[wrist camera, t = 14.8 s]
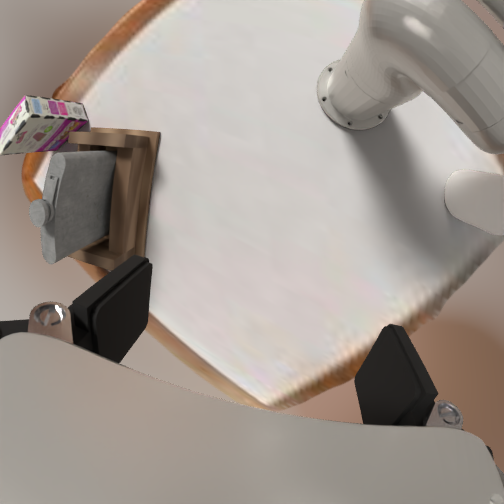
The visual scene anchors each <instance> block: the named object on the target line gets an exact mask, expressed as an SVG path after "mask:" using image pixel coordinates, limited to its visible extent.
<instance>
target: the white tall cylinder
mask: <svg viewBox="0 0 504 504" xmlns="http://www.w3.org/2000/svg"><path fill="white" fill-rule="evenodd" d="M444 198H445V203H446V206H447V208H448V210H449V212H450V213H451V214H452V215H453V216H454V217H455V218H457V219H459V220H461V221H464V222H466V223H468V224H470V225H473V226H475V227H477V228H479V229H481V230H484V231H486V232H488V233H490V234H492V235H504V176H503V175H499V174H494V173H487V172H481V171H474V170H467V169H461V170H457V171H455V172H454V173H453V174H451V176H450V177H449V178H448V180H447V183H446V185H445V191H444Z"/></svg>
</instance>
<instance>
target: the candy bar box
mask: <svg viewBox="0 0 504 504" xmlns="http://www.w3.org/2000/svg"><path fill="white" fill-rule="evenodd" d="M86 122H88V118H87V115H86V112H85V109H84V106H83V104H82V103H76V102H70V101H64V100H58V99H51V98H44V97H36V96H27V95H25V96H24V97H23V98H22V100H21V101H20V102H19V104H18V105H17V107H16V108H15V109H14V110H13V112H12V113H11V114H10V116H9V117H8V118H7V120H6V121H5V123H4V124H3V125H2V127H1V128H0V155H9V154H19V153H29V152H43V151H56V150H57V149H58V148H59V147H60V146H61V145H63V144H64V143H65V142H66V141H67V140H68V138H69V132H70V131H72V132H76V131H77V130H78V129H80V128H81V127H82V126H83V125H84V124H85V123H86Z"/></svg>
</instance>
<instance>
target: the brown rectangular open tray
mask: <svg viewBox="0 0 504 504" xmlns="http://www.w3.org/2000/svg"><path fill="white" fill-rule="evenodd" d="M159 137H160V132H152V131H142V130H129V129H113V128H91V131H90V132H72V131H70V132H69V138H68V143H75V144H78V150H77V152H79V151H117V157H116V164H115V172H114V181H113V190H112V201H111V214H110V231H109V235H107V236H105V237H103V238H101V239H99V240H97V241H95V242H93V243H91V244H89V245H87V246H85V247H83V248H81V249H79V250H78V251H76V252H74V253H72V254H70V255H68V257H71V258H74V259H77V260H80V261H83V262H86V263H89V264H92V265H95V266H98V267H101V268H104V269H107V270H111V271H112V270H114V269H115V268H116V267H118V266H119V265H120V264H122V263H123V262H125V261H126V260H127V259H129V258H130V257H131V256H133V255H138V256H142V257H144V254H145V241H146V230H147V220H148V210H149V202H150V194H151V186H152V179H153V172H154V166H155V160H156V154H157V148H158V142H159Z"/></svg>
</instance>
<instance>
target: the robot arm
mask: <svg viewBox="0 0 504 504" xmlns="http://www.w3.org/2000/svg"><path fill="white" fill-rule="evenodd" d="M477 1H478V2H479V3H480V4H481V5H482V6H483V7H484V8H485V9H486V10H487V11H488V12H489V13H490V14H491V15H492V16H493V17H494V18H495V20H496V21H497V22H498V23H499V24H500V25H501V26H502V27H503V28H504V0H477ZM328 70H330V71H331V72H329V71H328ZM422 91H424V92H425V93H426V94H427V95H428V96H430V97H431V98H432V99H433V100H434V101H435V102H436V103H437V104H438V105H439V106H440V107H441V108H442V109H443V110H444V111H445V112H446V113H447V114H448V115H449V117H450V118H451V119H452V120H453V121H454V122H455V123H456V124H457V125H458V127H459V128H460V129H461V130H462V131H463V132H464V134H465V135H466V136H467V137H468V138H469V139H470V140H471V141H472V142H473V143H474V144H475V145H476V146H477V147H478V148H480V149H481V150H483V151H484V152H487V153H490V154H503V153H504V45H503V44H502V43H501V41H500V40H499V39H498V38H497V37H496V36H495V35H494V34H493V32H492V30H491V29H490V28H489V27H488V26H487V25H486V24H485V23H484V22H483V21H482V20H481V19H480V18H479V17H478V16H477V15H476V14H475V13H474V12H473V11H472V10H471V9H470V8H469V7H468V6H467V5H466V4H465V3H464V2H463V1H461V0H364V1H363V4H362V8H361V13H360V20H359V27H358V30H357V32H356V34H355V36H354V38H353V40H352V41H351V43H350V45H349V47H348V48H347V50H346V52H345V53H344V55H343V57H342V58H341V60H337V61H335V62H333V63H331V64H329V65H328V66H327V67H326V68H325V69H324V70H323V71H322V73H321V75H320V77H319V79H318V84H317V95H318V100H319V102H320V105H321V107H322V108H323V110H324V112H325V113H326V114H327V115H328V116H329V117H330V118H331V119H332V120H333V121H334V122H336V123H337V124H339V125H341V126H343V127H346V128H349V129H353V130H365V129H370V128H373V127H375V126H377V125H378V124H380V123H381V122H382V121H383V120H384V119H385V118H386V116H387V115H388V113H389V110H390V109H392V108H395V107H397V106H399V105H402V104H404V103H406V102H408V101H411V100H413V99H414V98H416V97H417V96H419V95H420V94H421V92H422ZM322 99H325V102H324V101H322ZM378 116H379V117H380V119H379V118H378ZM348 122H349V123H350V125H348ZM151 276H152V264H151V263H149V259H148V258H145V257H142V256H138V255H133V256H131V257H130V258H129V259H127V260H126V261H125V262H123V263H122V264H120V265H119V266H118V267H116V268H115V269H114V270H112V271H111V272H110V273H108V274H107V275H106V276H104V277H103V278H102V279H101V280H99V281H98V282H97V283H95V284H94V285H93V286H91V287H90V288H89V289H88V290H86V291H85V292H84V293H83V294H81V295H80V296H79V297H78V298H76V299H75V300H74V301H73V304H72V305H70V306H69V307H68V308H67V307H66V306H65V305H63V304H61V303H58V302H43V303H41V304H38V305H37V306H35V307H34V308H33V309H32V310H31V312H30V315H29V316H30V317H29V319H28V320H14V321H0V504H504V474H503V472H502V471H501V470H500V469H499V468H498V467H497V465H495V463H494V459H493V455H492V454H493V453H492V450H491V449H490V448H489V447H488V446H486V445H485V444H484V443H483V441H482V440H481V439H479V438H478V437H477V436H475V435H473V434H471V433H469V432H466V431H464V430H463V429H461V428H462V424H463V416H462V414H461V412H460V410H459V409H458V408H457V406H455V405H454V404H452V403H451V402H449V401H446V400H439V401H437V402H436V403H435V402H434V399H435V397H436V396H437V395H438V392H437V390H436V388H435V386H434V384H433V382H432V380H431V378H430V376H429V374H428V372H427V370H426V368H425V366H424V364H423V363H422V360H421V359H420V357H419V355H418V353H417V351H416V349H415V348H414V346H413V344H412V342H411V340H410V338H409V337H408V335H407V333H406V331H405V330H404V328H403V327H402V326H398V325H393V324H389V325H388V326H387V327H386V326H385V327H384V328H383V329H382V331H381V333H380V334H379V336H378V338H377V340H376V342H375V343H374V345H373V347H372V349H371V351H370V352H369V354H368V356H367V357H366V359H365V361H364V362H363V364H362V366H361V367H360V369H359V371H358V372H357V374H356V376H355V387H356V391H357V396H358V400H359V405H360V410H361V414H362V420H363V424H358V423H347V422H338V421H329V420H321V419H314V418H307V417H302V416H295V415H290V414H284V413H279V412H274V411H269V410H264V409H260V408H255V407H251V406H247V405H242V404H238V403H234V402H230V401H226V400H223V399H219V398H216V397H212V396H208V395H205V394H202V393H198V392H195V391H192V390H189V389H186V388H182V387H180V386H177V385H174V384H171V383H168V382H165V381H162V380H159V379H157V378H154V377H151V376H148V375H146V374H143V373H141V372H138V371H136V370H133V369H131V368H129V367H126V366H124V365H121V364H119V363H120V362H121V360H122V359H123V358H124V356H125V355H126V354H127V352H128V350H130V348H131V347H132V346H133V344H134V343H135V341H136V340H137V339H138V337H139V336H140V335H141V333H142V332H143V331H144V329H145V328H146V326H147V323H148V312H149V299H150V287H151Z"/></svg>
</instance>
